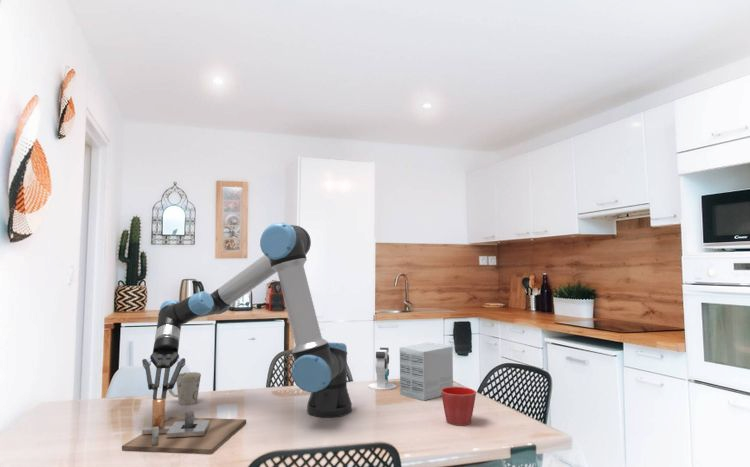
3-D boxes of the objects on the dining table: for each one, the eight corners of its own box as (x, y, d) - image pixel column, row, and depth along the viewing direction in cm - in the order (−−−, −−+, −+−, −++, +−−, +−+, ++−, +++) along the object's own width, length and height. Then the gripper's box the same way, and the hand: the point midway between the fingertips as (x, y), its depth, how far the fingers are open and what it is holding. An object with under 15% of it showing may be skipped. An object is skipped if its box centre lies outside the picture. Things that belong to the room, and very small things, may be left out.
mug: (191, 406, 170) (192, 377, 171) (159, 404, 173) (160, 376, 173) (204, 400, 178) (205, 372, 179) (174, 398, 181) (174, 371, 182)
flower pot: (454, 414, 161) (454, 384, 162) (482, 421, 154) (482, 390, 154) (434, 421, 154) (434, 390, 155) (463, 429, 146) (462, 396, 147)
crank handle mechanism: (209, 424, 147) (210, 393, 147) (203, 435, 137) (204, 402, 138) (148, 427, 144) (149, 395, 145) (137, 439, 134) (138, 405, 135)
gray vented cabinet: (428, 386, 198) (427, 342, 200) (454, 393, 189) (453, 346, 190) (398, 394, 187) (398, 346, 188) (424, 401, 177) (424, 351, 178)
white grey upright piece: (393, 391, 191) (393, 352, 192) (365, 389, 193) (365, 351, 194) (397, 383, 203) (397, 347, 204) (371, 382, 205) (371, 346, 206)
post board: (246, 423, 152) (246, 401, 153) (211, 454, 127) (212, 428, 128) (170, 420, 155) (170, 399, 155) (121, 450, 130) (122, 425, 130)
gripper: (187, 348, 164) (180, 414, 147) (146, 349, 160) (134, 417, 143) (187, 335, 159) (180, 402, 142) (145, 335, 155) (132, 404, 138)
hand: (157, 409), depth 143 cm, fingers closed
